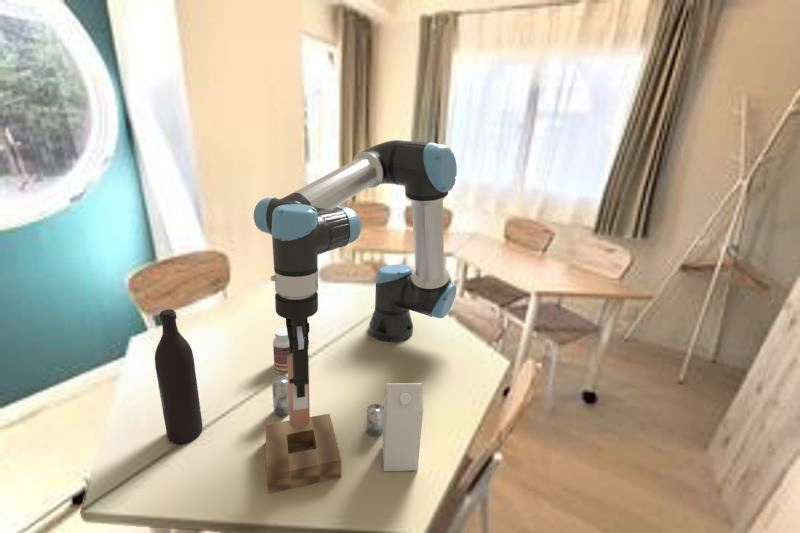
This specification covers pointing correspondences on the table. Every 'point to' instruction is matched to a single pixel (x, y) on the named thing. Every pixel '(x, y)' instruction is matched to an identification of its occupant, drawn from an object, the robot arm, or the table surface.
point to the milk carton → (402, 426)
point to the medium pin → (280, 396)
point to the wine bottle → (177, 383)
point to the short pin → (375, 420)
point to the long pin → (296, 417)
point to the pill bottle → (281, 349)
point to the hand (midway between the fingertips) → (299, 400)
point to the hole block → (301, 454)
